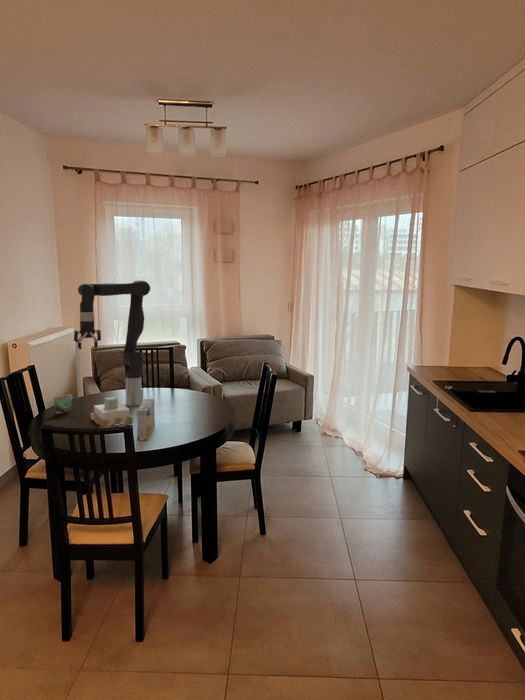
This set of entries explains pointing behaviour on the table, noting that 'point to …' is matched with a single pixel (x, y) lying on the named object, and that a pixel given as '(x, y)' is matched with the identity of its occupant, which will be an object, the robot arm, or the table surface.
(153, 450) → the table surface
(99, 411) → the tower top slab
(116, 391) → the table surface
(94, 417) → the tower bottom slab
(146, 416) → the snack box
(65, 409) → the food container
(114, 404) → the sage block
